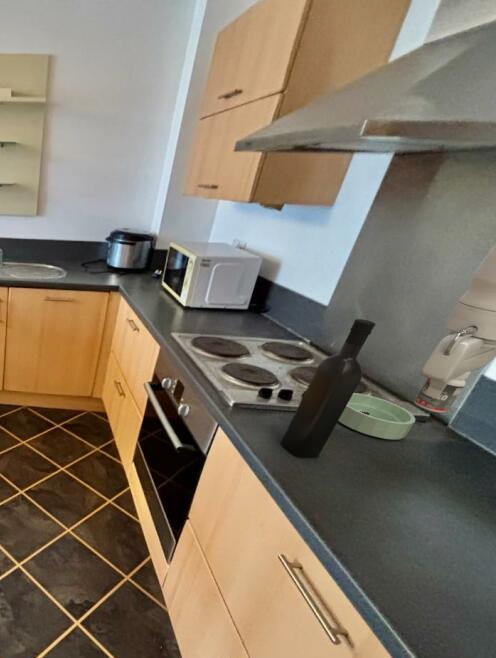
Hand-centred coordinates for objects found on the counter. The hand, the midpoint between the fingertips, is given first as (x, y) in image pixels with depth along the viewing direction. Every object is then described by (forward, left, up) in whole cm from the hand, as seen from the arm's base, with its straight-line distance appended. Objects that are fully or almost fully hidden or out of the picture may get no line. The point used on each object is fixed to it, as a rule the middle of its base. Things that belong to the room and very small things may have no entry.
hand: (439, 392), depth 78 cm
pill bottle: (0, 0, -3) cm, 3 cm away
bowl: (+12, -17, -19) cm, 28 cm away
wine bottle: (+12, +12, -19) cm, 25 cm away
